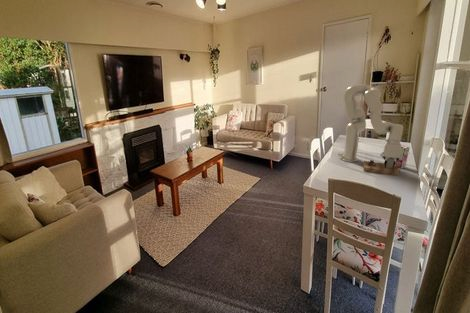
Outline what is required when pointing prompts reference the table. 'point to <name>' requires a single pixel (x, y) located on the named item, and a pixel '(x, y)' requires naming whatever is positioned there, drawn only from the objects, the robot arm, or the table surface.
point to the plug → (389, 163)
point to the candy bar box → (404, 153)
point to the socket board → (379, 168)
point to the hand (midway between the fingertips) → (389, 165)
